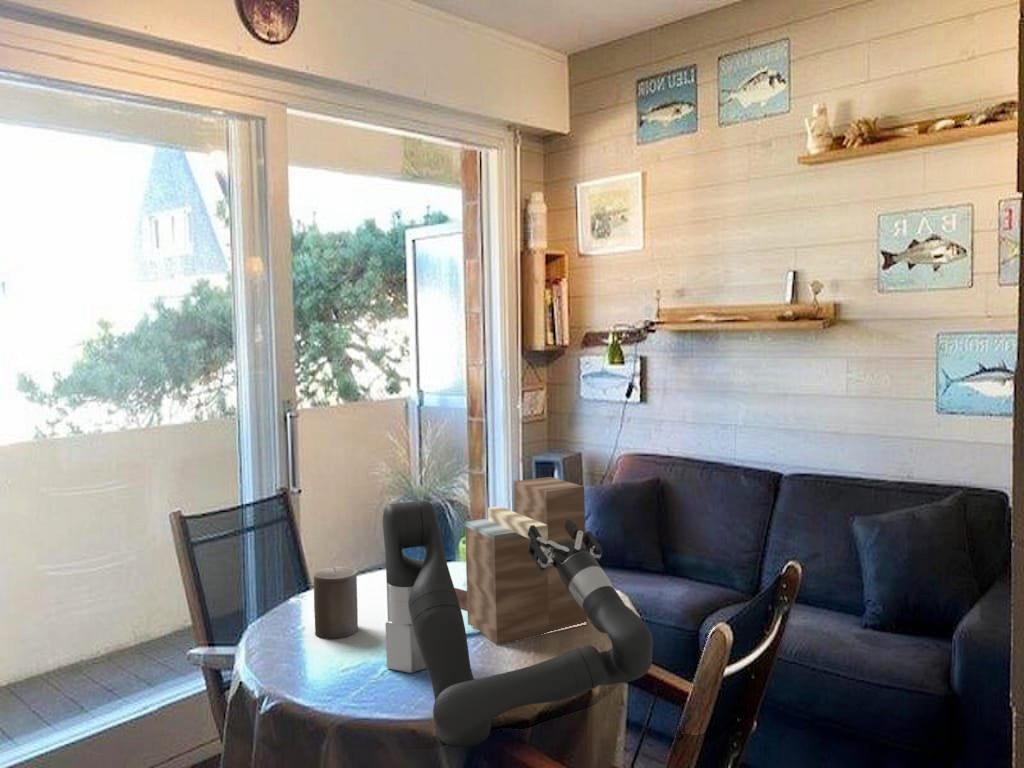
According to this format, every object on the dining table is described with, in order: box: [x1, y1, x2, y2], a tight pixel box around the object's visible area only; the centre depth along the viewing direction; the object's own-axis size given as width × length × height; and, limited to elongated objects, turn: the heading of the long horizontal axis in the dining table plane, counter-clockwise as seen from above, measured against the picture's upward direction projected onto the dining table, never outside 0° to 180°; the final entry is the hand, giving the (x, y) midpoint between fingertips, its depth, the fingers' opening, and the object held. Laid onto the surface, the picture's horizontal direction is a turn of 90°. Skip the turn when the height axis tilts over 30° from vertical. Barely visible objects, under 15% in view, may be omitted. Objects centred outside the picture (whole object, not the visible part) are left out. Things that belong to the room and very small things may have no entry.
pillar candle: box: [313, 566, 359, 640], centre depth 184 cm, size 10×10×15 cm
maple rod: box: [487, 505, 548, 540], centre depth 177 cm, size 22×3×3 cm, turn 28°
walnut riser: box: [464, 476, 588, 646], centre depth 185 cm, size 15×23×32 cm, turn 118°
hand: (549, 525), depth 166 cm, fingers open, 8 cm apart
